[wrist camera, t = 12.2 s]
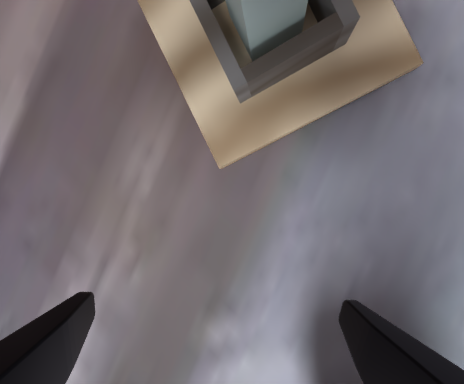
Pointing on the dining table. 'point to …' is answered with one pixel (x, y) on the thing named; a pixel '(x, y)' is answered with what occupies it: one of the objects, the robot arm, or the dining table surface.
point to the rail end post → (266, 22)
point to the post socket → (277, 67)
